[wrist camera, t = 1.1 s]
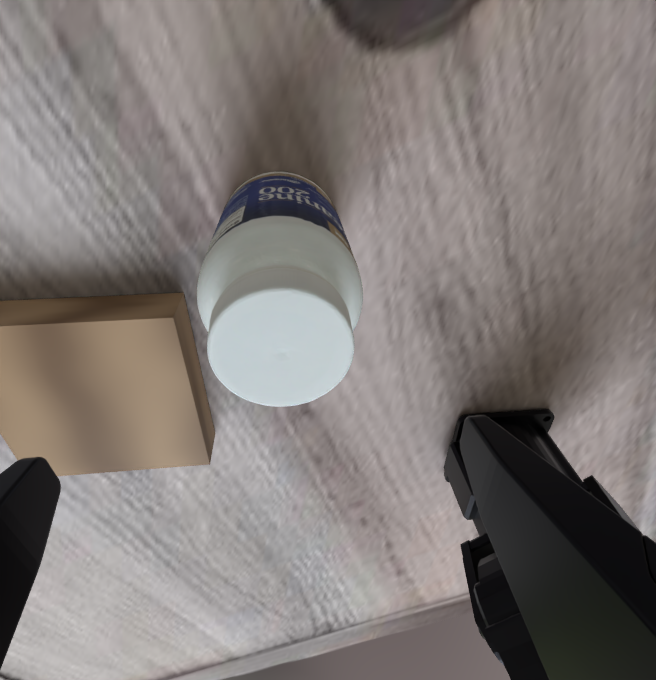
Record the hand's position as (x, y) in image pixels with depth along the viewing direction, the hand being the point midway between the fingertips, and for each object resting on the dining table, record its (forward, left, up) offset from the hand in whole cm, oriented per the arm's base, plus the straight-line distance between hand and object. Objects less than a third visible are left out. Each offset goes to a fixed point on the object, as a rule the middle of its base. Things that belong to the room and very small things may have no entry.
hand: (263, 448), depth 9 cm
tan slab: (+10, +7, -12) cm, 17 cm away
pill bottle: (0, -1, -13) cm, 13 cm away
